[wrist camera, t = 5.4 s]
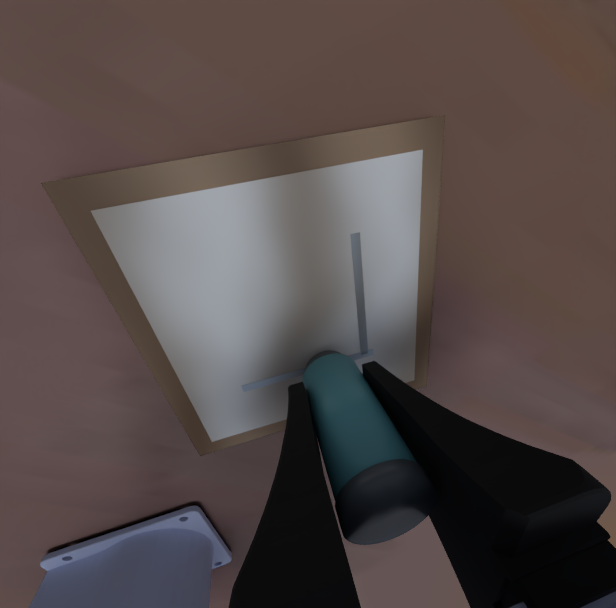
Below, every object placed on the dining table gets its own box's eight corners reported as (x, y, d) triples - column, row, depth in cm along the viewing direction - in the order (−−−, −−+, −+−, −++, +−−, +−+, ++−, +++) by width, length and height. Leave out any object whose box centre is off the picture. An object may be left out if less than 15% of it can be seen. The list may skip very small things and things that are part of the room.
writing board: (202, 443, 15) (199, 459, 14) (57, 182, 9) (36, 182, 8) (419, 377, 17) (428, 388, 16) (431, 119, 10) (449, 114, 10)
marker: (303, 397, 13) (347, 555, 8) (293, 353, 12) (335, 505, 6) (355, 381, 14) (434, 522, 8) (350, 337, 12) (440, 467, 7)
